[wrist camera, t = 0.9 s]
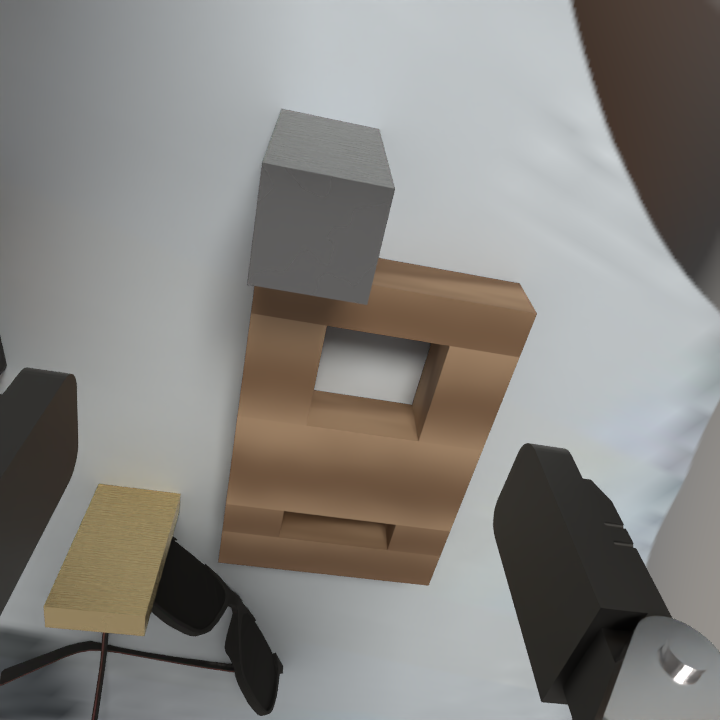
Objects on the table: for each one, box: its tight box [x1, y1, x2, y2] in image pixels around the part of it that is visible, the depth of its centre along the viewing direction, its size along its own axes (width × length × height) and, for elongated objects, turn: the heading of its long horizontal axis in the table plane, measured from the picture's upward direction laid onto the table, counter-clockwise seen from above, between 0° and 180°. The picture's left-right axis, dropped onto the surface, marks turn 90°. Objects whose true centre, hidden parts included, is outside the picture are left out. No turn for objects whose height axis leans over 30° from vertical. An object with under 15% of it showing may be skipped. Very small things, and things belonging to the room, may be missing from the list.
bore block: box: [218, 258, 537, 585], centre depth 32 cm, size 18×12×3 cm, turn 168°
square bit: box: [247, 109, 395, 305], centre depth 23 cm, size 4×4×8 cm
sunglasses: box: [0, 536, 283, 720], centre depth 41 cm, size 17×14×5 cm
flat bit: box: [44, 484, 180, 636], centre depth 33 cm, size 2×4×8 cm, turn 78°
